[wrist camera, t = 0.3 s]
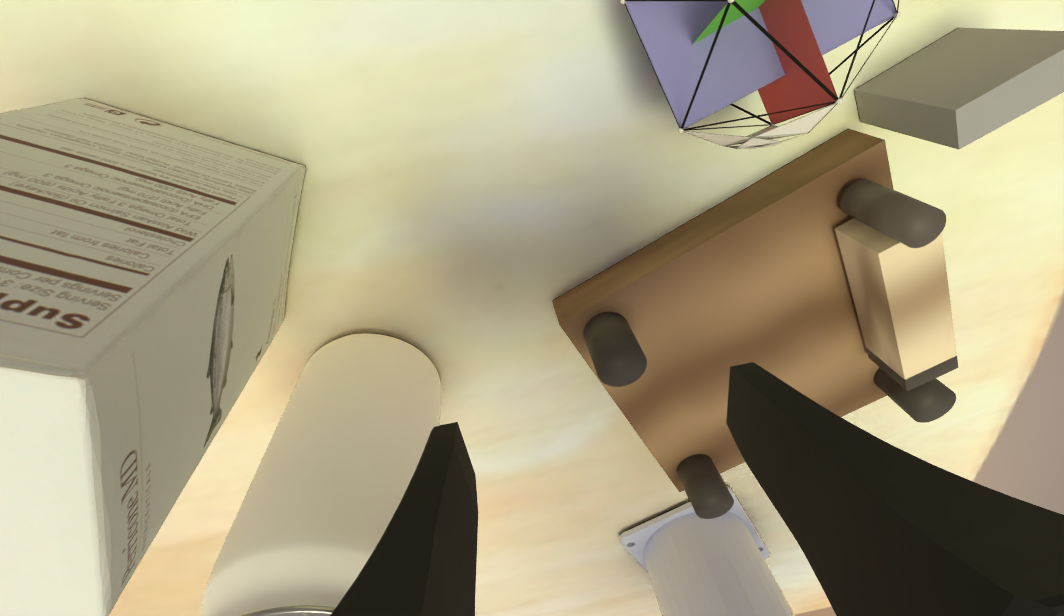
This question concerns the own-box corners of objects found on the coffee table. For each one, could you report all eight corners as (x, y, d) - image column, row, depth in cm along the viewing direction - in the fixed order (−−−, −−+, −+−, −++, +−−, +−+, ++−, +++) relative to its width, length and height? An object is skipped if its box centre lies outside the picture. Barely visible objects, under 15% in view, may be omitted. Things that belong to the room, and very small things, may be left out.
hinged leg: (914, 335, 23) (974, 379, 20) (868, 358, 23) (922, 403, 21) (883, 166, 18) (956, 193, 15) (826, 198, 19) (888, 230, 16)
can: (411, 310, 22) (362, 575, 11) (460, 410, 25) (457, 682, 15) (276, 351, 22) (112, 645, 12) (343, 445, 25) (262, 734, 15)
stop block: (961, 63, 19) (1091, 76, 15) (860, 122, 20) (958, 149, 16) (958, 28, 18) (1093, 32, 14) (854, 89, 19) (955, 110, 15)
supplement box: (288, 322, 21) (107, 637, 11) (88, 276, 19) (-388, 611, 8) (315, 162, 18) (91, 384, 7) (77, 85, 16) (-734, 239, 5)
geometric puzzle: (571, -133, 13) (726, 71, 10) (825, -297, 12) (1083, -123, 9) (611, 65, 19) (710, 223, 16) (775, -28, 18) (913, 122, 15)
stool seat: (897, 353, 27) (969, 410, 23) (667, 464, 29) (697, 532, 25) (848, 128, 20) (940, 157, 16) (552, 300, 22) (570, 360, 18)
